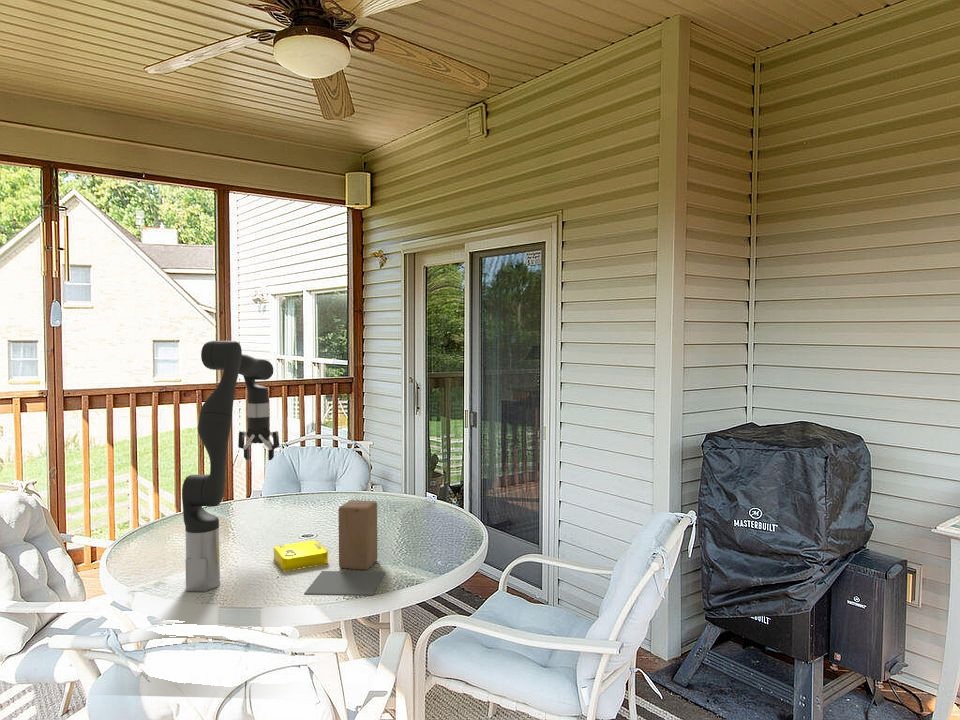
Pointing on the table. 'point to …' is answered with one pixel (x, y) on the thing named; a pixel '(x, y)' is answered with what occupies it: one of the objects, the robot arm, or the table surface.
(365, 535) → the wooden block
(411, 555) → the table surface
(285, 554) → the yellow labelled tile
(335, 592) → the mat
